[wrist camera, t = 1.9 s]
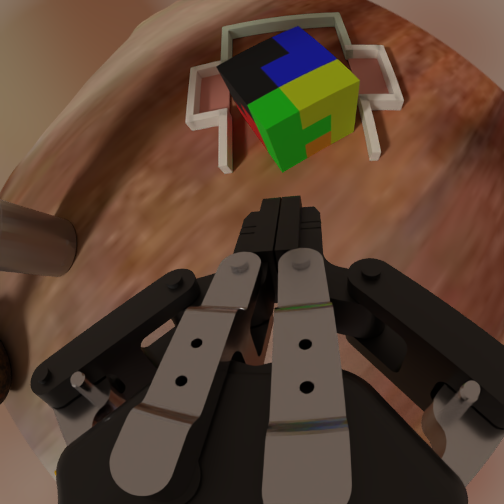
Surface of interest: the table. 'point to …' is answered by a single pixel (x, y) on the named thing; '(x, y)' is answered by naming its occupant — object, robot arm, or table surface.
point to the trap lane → (359, 56)
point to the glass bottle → (4, 374)
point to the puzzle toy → (292, 95)
